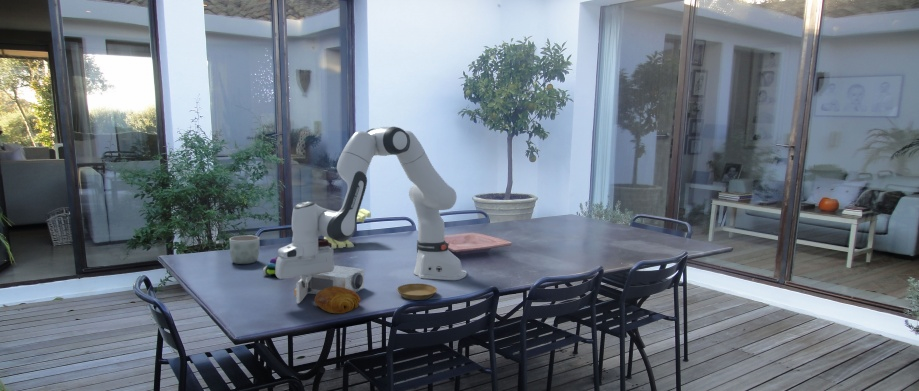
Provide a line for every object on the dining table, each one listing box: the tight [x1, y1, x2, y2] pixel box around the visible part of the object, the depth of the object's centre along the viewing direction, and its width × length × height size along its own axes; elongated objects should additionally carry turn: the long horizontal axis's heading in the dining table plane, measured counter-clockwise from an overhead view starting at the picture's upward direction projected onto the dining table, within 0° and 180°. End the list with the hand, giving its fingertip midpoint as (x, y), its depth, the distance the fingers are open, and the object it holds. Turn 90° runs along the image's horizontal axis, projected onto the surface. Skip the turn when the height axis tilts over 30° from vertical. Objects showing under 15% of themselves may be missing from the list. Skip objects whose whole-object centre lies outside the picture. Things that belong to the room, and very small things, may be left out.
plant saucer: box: [396, 282, 438, 301], centre depth 204 cm, size 15×15×3 cm
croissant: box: [313, 286, 361, 314], centre depth 188 cm, size 14×16×8 cm
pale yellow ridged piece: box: [323, 208, 372, 249], centre depth 286 cm, size 30×16×18 cm, turn 117°
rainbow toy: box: [262, 256, 279, 277], centre depth 226 cm, size 8×10×7 cm
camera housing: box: [308, 264, 365, 295], centre depth 206 cm, size 17×14×8 cm
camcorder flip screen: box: [294, 277, 310, 304], centre depth 196 cm, size 13×2×7 cm, turn 2°
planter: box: [229, 235, 260, 265], centre depth 245 cm, size 12×12×11 cm
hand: (305, 287), depth 194 cm, fingers closed, pressing on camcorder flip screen
